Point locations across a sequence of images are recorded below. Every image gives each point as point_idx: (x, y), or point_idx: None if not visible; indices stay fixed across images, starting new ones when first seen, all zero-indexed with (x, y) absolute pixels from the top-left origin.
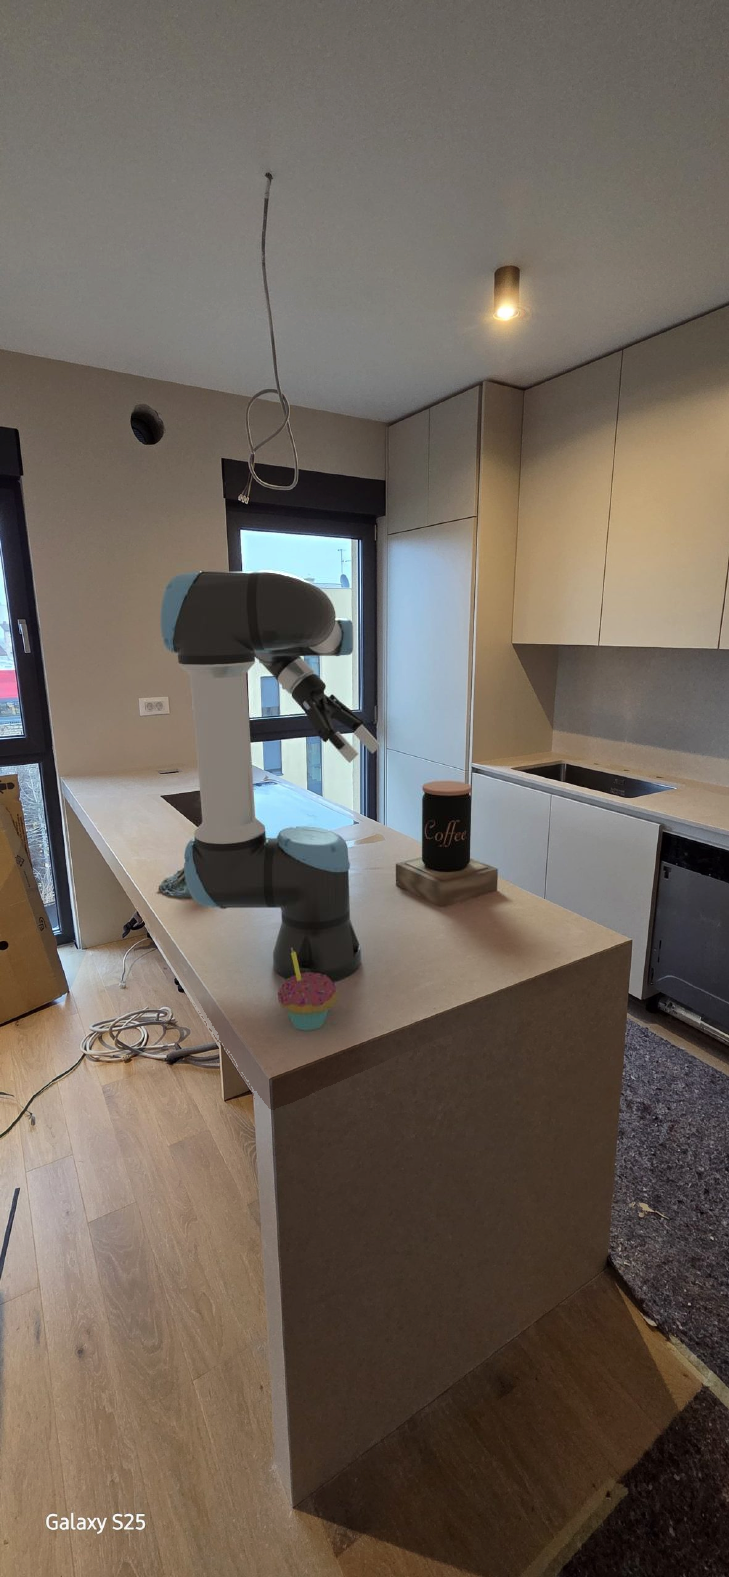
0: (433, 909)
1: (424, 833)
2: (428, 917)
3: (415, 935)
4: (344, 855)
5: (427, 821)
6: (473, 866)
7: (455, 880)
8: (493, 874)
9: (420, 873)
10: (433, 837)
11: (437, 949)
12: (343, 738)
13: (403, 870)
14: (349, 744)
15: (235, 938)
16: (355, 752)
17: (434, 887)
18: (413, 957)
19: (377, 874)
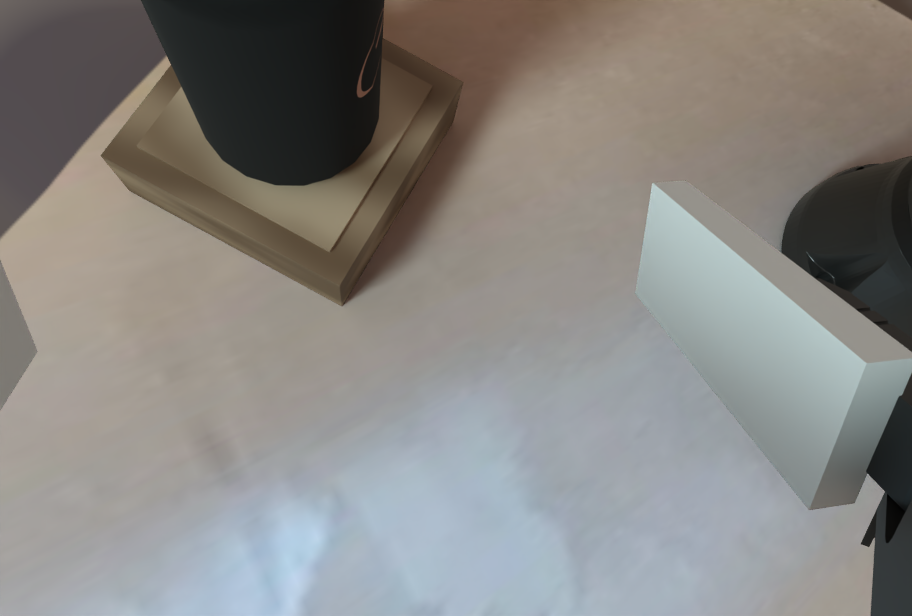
0: (477, 135)
1: (354, 99)
2: (533, 131)
3: (643, 126)
4: None
5: (369, 46)
6: None
7: (412, 54)
8: None
9: (401, 169)
10: (380, 58)
11: (679, 61)
12: (810, 284)
13: (364, 249)
14: (736, 236)
15: None
16: (698, 191)
17: (443, 120)
18: (739, 95)
19: (274, 408)
